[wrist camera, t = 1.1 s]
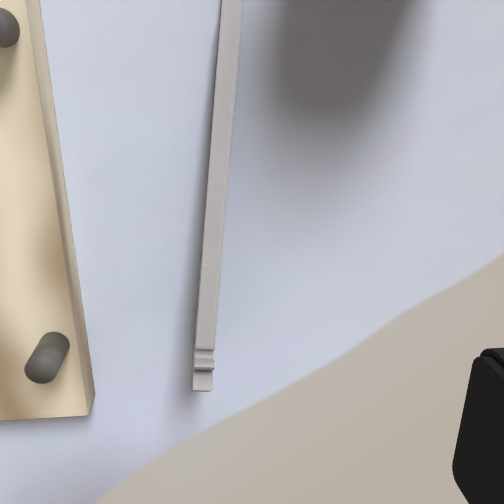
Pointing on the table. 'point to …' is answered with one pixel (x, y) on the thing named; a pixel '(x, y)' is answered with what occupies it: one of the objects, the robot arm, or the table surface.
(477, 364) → the robot arm
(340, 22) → the table surface
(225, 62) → the caliper
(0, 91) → the tool rest
